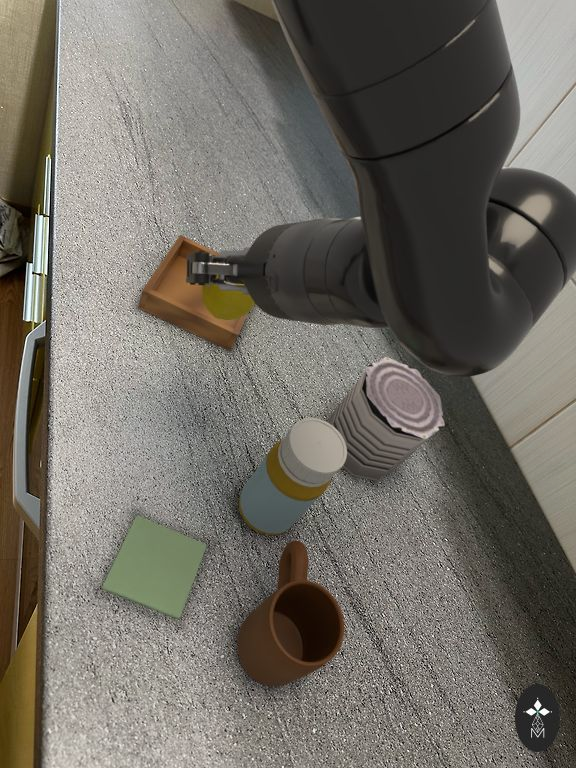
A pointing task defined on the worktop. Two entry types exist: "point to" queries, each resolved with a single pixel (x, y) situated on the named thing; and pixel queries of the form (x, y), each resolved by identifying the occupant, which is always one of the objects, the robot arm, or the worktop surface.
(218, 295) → the fruit
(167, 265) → the crate
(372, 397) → the can
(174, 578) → the mat
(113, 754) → the worktop surface
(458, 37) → the robot arm
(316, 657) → the mug
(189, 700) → the worktop surface
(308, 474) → the bottle
